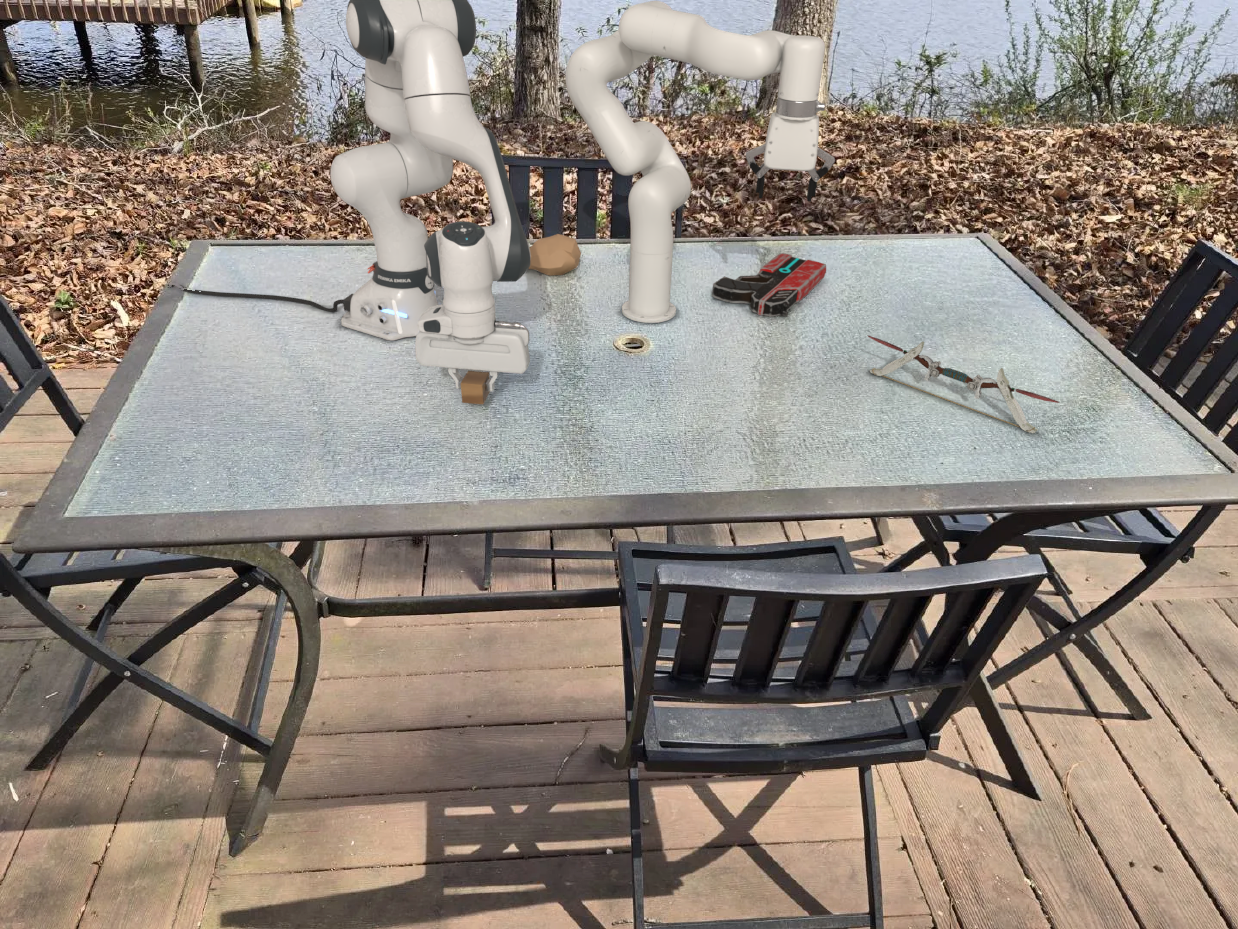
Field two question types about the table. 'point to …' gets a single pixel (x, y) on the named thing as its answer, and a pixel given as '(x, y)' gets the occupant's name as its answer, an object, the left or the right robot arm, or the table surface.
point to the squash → (554, 255)
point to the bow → (972, 384)
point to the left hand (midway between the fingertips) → (475, 388)
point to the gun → (772, 285)
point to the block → (474, 387)
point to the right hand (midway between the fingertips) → (784, 197)
